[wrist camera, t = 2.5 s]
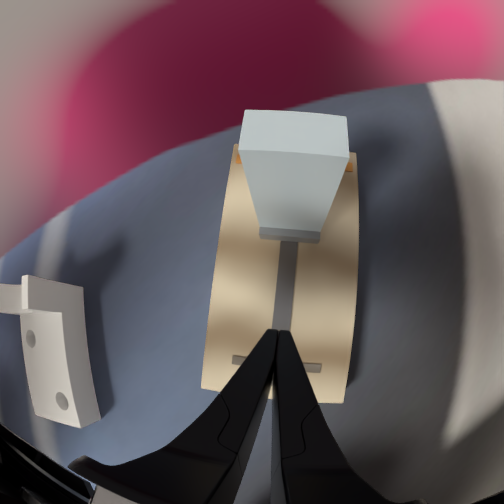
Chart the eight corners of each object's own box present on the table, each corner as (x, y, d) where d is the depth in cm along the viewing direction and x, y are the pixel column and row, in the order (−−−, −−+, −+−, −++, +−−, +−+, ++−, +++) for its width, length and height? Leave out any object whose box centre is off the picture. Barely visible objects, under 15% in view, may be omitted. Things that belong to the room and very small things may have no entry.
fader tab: (317, 243, 19) (350, 169, 9) (260, 238, 19) (236, 161, 9) (319, 203, 19) (345, 107, 10) (264, 199, 20) (246, 101, 10)
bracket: (42, 293, 23) (-10, 283, 16) (84, 287, 23) (27, 274, 16) (56, 408, 20) (8, 421, 13) (102, 418, 20) (51, 440, 12)
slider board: (337, 395, 18) (343, 403, 16) (208, 381, 20) (200, 388, 17) (351, 165, 22) (356, 152, 20) (238, 156, 24) (234, 143, 22)
